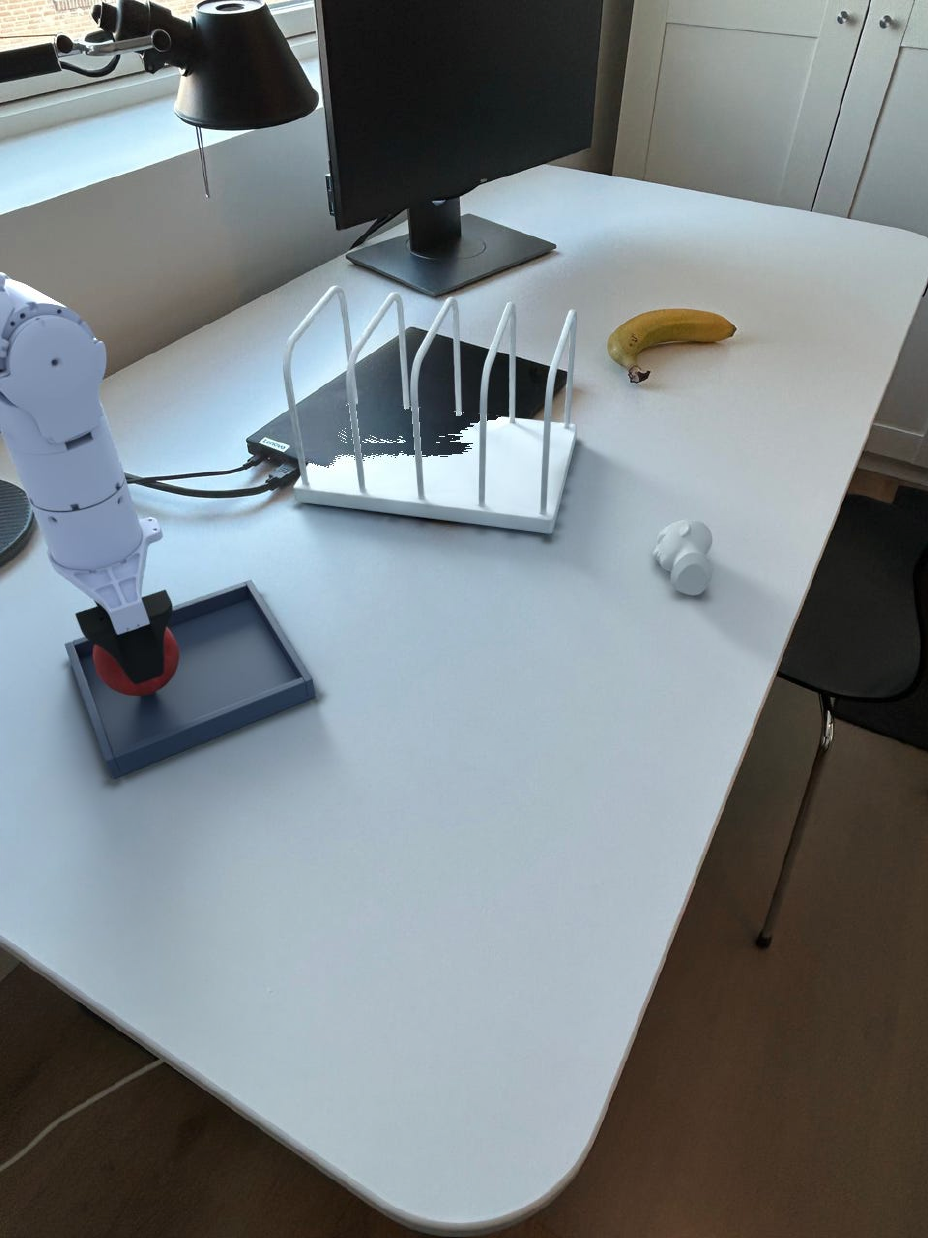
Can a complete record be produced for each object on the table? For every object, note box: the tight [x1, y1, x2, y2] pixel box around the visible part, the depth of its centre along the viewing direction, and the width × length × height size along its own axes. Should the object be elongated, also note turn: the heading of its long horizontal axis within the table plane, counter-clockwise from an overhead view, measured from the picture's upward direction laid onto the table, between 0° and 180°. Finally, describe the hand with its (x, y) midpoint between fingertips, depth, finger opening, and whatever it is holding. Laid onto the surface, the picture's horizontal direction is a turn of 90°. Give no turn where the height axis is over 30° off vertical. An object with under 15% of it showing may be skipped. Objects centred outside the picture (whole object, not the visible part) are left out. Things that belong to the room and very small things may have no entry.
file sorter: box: [282, 285, 578, 535], centre depth 83 cm, size 25×17×16 cm
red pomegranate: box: [93, 627, 179, 696], centre depth 64 cm, size 6×6×8 cm
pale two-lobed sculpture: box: [652, 518, 713, 596], centre depth 76 cm, size 4×8×5 cm
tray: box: [64, 579, 317, 779], centre depth 67 cm, size 15×13×2 cm
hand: (133, 643), depth 63 cm, fingers open, 7 cm apart
